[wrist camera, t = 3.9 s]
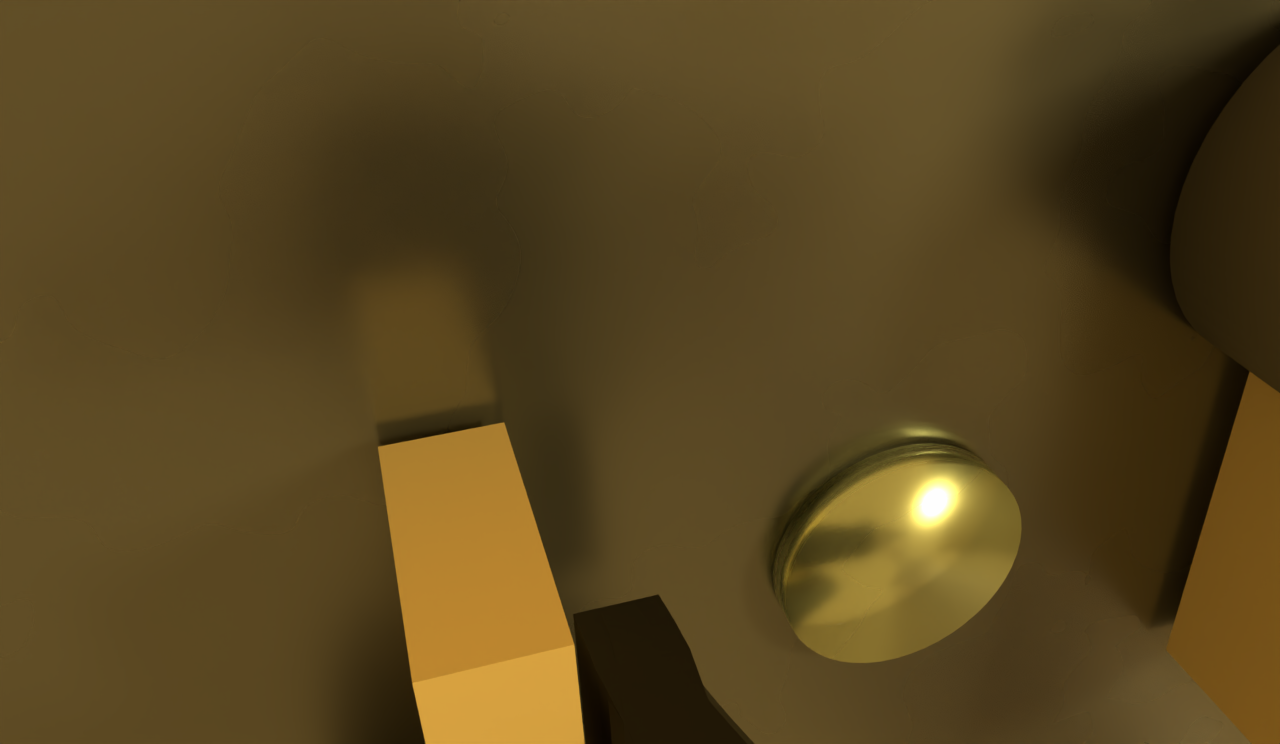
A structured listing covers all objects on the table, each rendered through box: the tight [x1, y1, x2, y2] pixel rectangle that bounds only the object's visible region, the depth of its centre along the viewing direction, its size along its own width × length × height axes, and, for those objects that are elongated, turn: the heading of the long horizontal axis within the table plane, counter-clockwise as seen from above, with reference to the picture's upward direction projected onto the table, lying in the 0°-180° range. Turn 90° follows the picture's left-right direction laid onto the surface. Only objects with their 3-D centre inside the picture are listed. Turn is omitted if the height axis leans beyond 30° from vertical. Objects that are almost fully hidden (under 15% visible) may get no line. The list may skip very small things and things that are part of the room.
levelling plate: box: [0, 0, 1280, 744], centre depth 14 cm, size 18×22×2 cm
